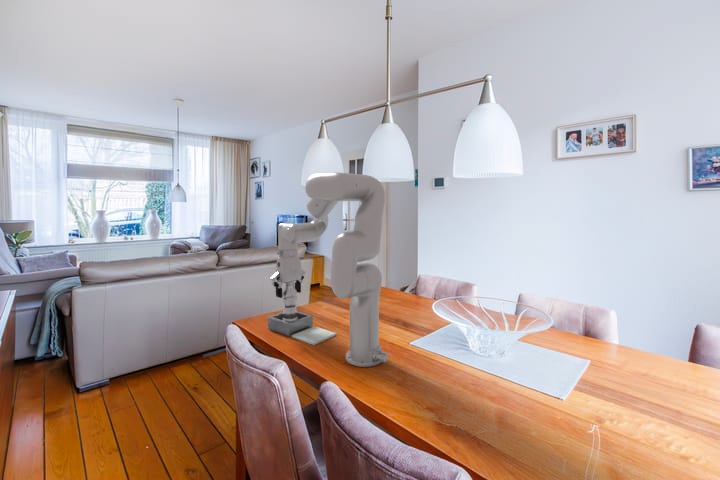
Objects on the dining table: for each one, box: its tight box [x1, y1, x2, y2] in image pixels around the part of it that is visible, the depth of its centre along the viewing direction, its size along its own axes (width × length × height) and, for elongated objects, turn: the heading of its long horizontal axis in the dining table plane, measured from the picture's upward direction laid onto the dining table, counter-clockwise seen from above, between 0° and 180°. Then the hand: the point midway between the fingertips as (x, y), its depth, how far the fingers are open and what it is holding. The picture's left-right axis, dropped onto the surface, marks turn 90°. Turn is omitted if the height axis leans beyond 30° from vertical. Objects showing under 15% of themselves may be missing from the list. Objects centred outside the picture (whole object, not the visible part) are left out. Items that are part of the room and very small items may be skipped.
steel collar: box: [267, 310, 314, 338], centre depth 137 cm, size 13×12×5 cm
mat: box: [291, 326, 337, 346], centre depth 129 cm, size 12×12×1 cm
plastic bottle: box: [281, 281, 298, 323], centre depth 136 cm, size 6×7×20 cm
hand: (288, 294), depth 136 cm, fingers open, 9 cm apart
